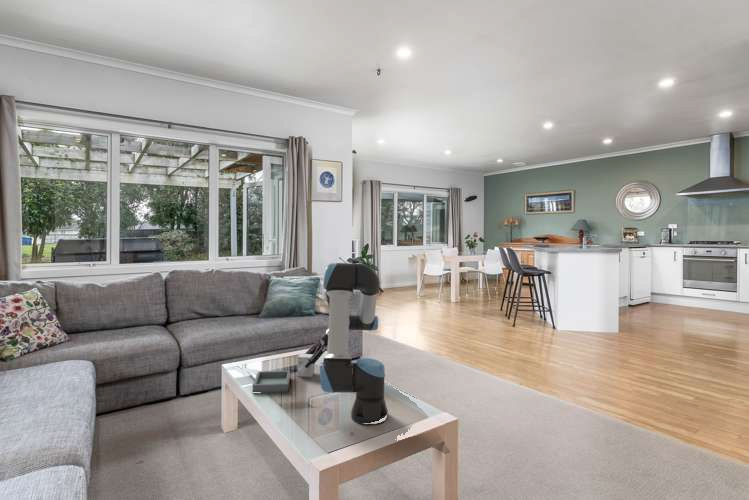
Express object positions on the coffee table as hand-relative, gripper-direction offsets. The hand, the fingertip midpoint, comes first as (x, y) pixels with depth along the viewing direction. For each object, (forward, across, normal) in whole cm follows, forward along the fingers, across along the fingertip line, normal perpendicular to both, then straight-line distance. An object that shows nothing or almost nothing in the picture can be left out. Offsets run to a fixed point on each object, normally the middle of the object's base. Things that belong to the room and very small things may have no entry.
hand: (299, 368), depth 207 cm
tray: (+13, -10, +8) cm, 18 cm away
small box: (0, 0, -5) cm, 5 cm away
